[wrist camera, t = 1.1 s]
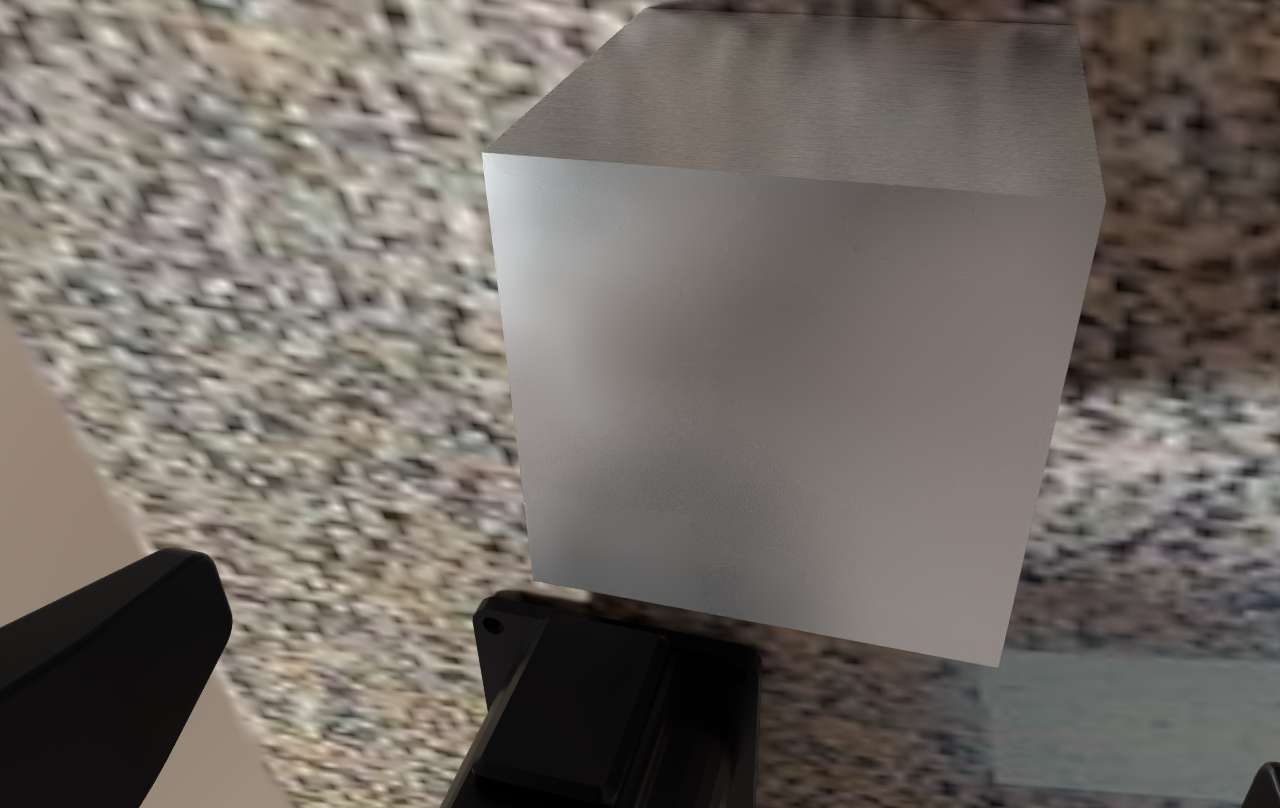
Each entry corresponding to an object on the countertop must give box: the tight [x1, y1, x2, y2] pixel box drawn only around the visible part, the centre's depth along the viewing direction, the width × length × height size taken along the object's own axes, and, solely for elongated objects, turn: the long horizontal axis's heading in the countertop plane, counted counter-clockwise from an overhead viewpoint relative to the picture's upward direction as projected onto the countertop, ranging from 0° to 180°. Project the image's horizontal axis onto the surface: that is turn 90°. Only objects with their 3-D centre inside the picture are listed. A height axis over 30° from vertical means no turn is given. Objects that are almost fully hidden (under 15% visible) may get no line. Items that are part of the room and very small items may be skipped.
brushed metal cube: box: [482, 8, 1106, 668], centre depth 14 cm, size 6×6×6 cm
